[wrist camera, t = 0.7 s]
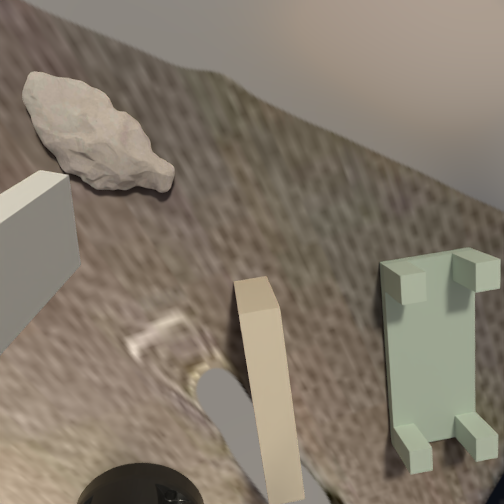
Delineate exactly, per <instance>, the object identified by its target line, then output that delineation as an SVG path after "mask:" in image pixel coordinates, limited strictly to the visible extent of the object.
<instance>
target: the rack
mask: <svg viewBox="0 0 504 504" xmlns="http://www.w3.org/2000/svg"><path fill="white" fill-rule="evenodd" d="M380 277H381V292H382V308H383V323H384V338H385V354H386V369H387V384H388V400H389V415H390V431H391V443H392V445H393V446H394V448H395V450H396V451H397V453H398V455H399V456H400V458H401V459H402V461H403V463H404V464H405V466H406V468H407V469H408V471H409V473H410V474H416V473H421V472H426V471H431V470H433V464H432V447H431V445H430V444H429V443H428V442H432V441H437V440H443V439H448V438H453V437H456V438H457V440H458V441H459V442H460V443H461V444H462V445H463V447H464V448H465V449H466V450H467V451H468V453H469V454H470V455H471V456H472V457H473V458H474V460H475V461H476V462H477V461H482V460H487V459H493V458H498V434H497V433H496V432H495V431H494V430H493V429H492V428H491V427H490V426H489V425H488V424H487V423H486V422H485V421H484V420H483V419H482V418H481V417H480V416H479V415H478V414H477V413H476V412H475V292H482V291H487V290H493V289H499V288H500V259H498V258H496V257H493V256H490V255H488V254H485V253H482V252H480V251H477V250H474V249H472V248H463V249H457V250H450V251H444V252H438V253H432V254H426V255H420V256H414V257H408V258H402V259H396V260H390V261H384V262H380Z"/></svg>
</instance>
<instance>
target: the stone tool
mask: <svg viewBox="0 0 504 504" xmlns="http://www.w3.org/2000/svg"><path fill="white" fill-rule="evenodd" d="M22 99H23V101H24V104H25V105H26V108H27V110H28V112H29V114H30V115H31V120H32V123H33V126H34V127H35V129H36V132H37V134H38V135H39V137H40V139H41V141H42V142H43V145H44V146H45V147H46V148H48V150H49V151H51V152H52V153H53V154H54V155H55V156H56V158H57V161H58V163H59V165H60V167H61V168H62V169H63V170H64V171H65V172H66V173H71V174H74V175H77V176H79V177H81V179H82V180H83V181H84V182H86V183H88V184H89V185H91V186H92V187H94V188H95V189H97V190H116V189H120V190H128V189H130V188H132V187H135V186H141V187H144V188H148V189H150V188H152V189H156V190H157V191H158V192H161V193H163V192H167V191H168V190H169V189H170V188H171V185H172V182H173V179H174V176H175V171H174V167H173V166H172V165H171V164H170V163H168V162H166V161H165V160H163V159H161V158H159V157H158V156H157V155H156V154H155V153H153V151H152V149H151V142H150V140H149V138H148V136H147V135H146V134H145V133H144V132H143V130H142V128H141V125H140V124H139V122H138V121H136V120H135V119H134V118H133V117H131V116H130V115H129V114H127V113H126V112H125V111H124V112H121V111H117V110H116V109H115V108H113V106H112V103H111V101H110V99H109V98H108V97H107V95H106V94H105V93H104V92H102V91H100V90H99V89H96V88H93V87H90V86H89V85H87V84H86V83H84V82H82V81H80V80H74V79H70V78H61V77H55V76H52V75H49V74H46V73H43V72H36V71H35V72H31V73H30V74H29V75H28V78H27V81H26V83H25V85H24V88H23V92H22ZM92 104H93V105H92ZM111 153H112V154H111ZM126 156H127V157H126Z"/></svg>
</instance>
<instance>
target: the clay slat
mask: <svg viewBox="0 0 504 504" xmlns="http://www.w3.org/2000/svg"><path fill="white" fill-rule="evenodd" d="M234 288H235V294H236V300H237V307H238V313H239V319H240V326H241V332H242V338H243V344H244V351H245V357H246V363H247V369H248V376H249V382H250V388H251V394H252V400H253V407H254V413H255V419H256V425H257V432H258V438H259V444H260V450H261V457H262V463H263V469H264V475H265V482H266V488H267V494H268V500H269V504H283V503H288V502H293V501H298V500H304V499H305V494H304V487H303V479H302V472H301V464H300V456H299V449H298V441H297V434H296V426H295V419H294V411H293V403H292V396H291V388H290V381H289V373H288V366H287V358H286V350H285V343H284V335H283V328H282V320H281V313H280V307H279V304H278V302H277V300H276V297H275V295H274V293H273V290H272V288H271V286H270V283H269V281H268V279H267V276H265V277H259V278H253V279H247V280H240V281H234Z"/></svg>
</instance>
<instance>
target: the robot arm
mask: <svg viewBox="0 0 504 504" xmlns="http://www.w3.org/2000/svg"><path fill="white" fill-rule="evenodd" d="M80 265H81V262H80V255H79V247H78V240H77V232H76V225H75V217H74V210H73V202H72V195H71V187H70V180H69V175H66V174H60V173H54V172H48V171H42V170H39V171H37V172H36V173H34V174H33V175H31V176H29V177H28V178H26V179H24V180H23V181H21V182H20V183H18V184H16V185H15V186H13V187H11V188H10V189H8V190H6V191H5V192H3V193H2V194H0V355H1V354H2V353H3V351H4V350H5V349H6V348H7V347H8V346H9V345H10V344H11V342H12V341H13V340H14V339H15V338H16V337H17V336H18V335H19V334H20V332H21V331H22V330H23V329H24V328H25V327H26V326H27V325H28V323H29V322H30V321H31V320H32V319H33V318H34V317H35V316H36V315H37V313H38V312H39V311H40V310H41V309H42V308H43V307H44V306H45V304H46V303H47V302H48V301H49V300H50V299H51V298H52V297H53V295H54V294H55V293H56V292H57V291H58V290H59V289H60V288H61V287H62V285H63V284H64V283H65V282H66V281H67V280H68V279H69V278H70V276H71V275H72V274H73V273H74V272H75V271H76V270H77V269H78V267H79V266H80ZM77 504H204V502H203V499H202V497H201V494H200V493H199V491H198V489H197V488H196V486H195V485H194V484H193V483H192V482H191V481H190V480H189V479H188V478H186V477H185V476H184V475H182V474H181V473H179V472H177V471H175V470H173V469H171V468H168V467H165V466H162V465H157V464H150V463H134V464H127V465H123V466H119V467H116V468H113V469H111V470H108V471H107V472H105V473H103V474H101V475H100V476H98V477H97V478H95V479H94V480H93V481H92V482H91V483H90V484H89V485H88V486H87V487H86V488H85V490H84V491H83V492H82V494H81V496H80V498H79V500H78V502H77Z"/></svg>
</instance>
